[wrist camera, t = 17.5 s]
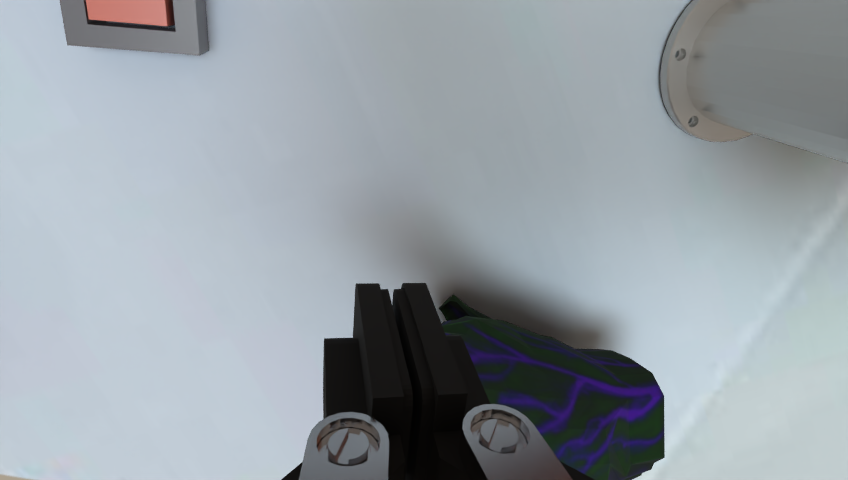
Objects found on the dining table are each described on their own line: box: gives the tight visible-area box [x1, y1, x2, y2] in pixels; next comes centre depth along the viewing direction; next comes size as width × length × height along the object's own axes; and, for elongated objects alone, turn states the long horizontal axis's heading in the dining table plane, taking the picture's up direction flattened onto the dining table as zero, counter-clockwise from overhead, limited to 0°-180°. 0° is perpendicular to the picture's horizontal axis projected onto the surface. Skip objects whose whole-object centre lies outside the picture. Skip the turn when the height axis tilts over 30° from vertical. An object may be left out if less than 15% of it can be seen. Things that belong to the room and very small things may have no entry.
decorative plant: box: [439, 295, 664, 480], centre depth 39 cm, size 21×26×30 cm
